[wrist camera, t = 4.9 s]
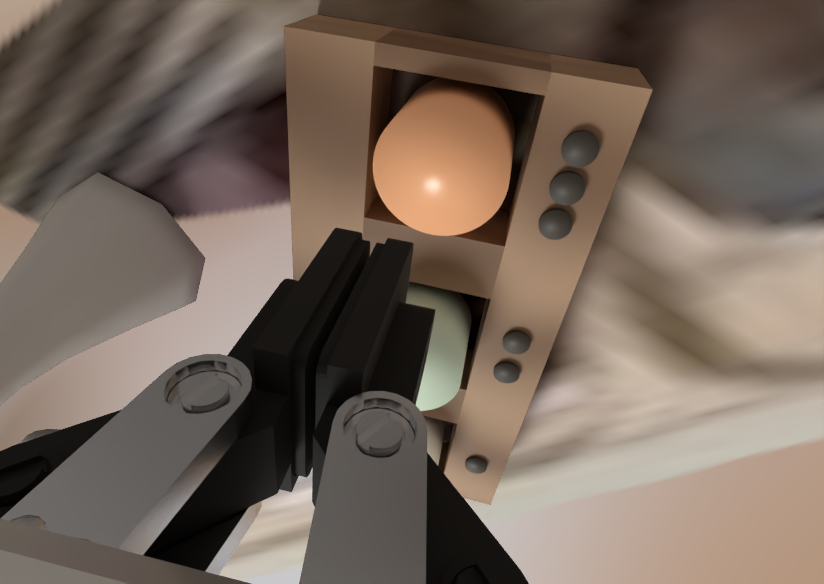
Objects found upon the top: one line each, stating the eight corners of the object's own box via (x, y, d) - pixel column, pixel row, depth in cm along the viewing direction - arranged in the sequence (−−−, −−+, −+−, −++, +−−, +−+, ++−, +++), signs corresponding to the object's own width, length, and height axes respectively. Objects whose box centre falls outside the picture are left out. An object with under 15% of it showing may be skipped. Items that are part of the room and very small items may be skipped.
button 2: (462, 362, 21) (451, 421, 19) (371, 341, 22) (348, 396, 19) (480, 288, 19) (470, 343, 16) (377, 266, 19) (353, 316, 17)
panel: (494, 462, 27) (489, 508, 25) (317, 418, 28) (298, 458, 26) (637, 68, 15) (654, 91, 13) (316, 14, 16) (280, 27, 14)
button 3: (500, 202, 18) (493, 247, 15) (392, 181, 18) (368, 221, 16) (528, 87, 15) (526, 118, 13) (403, 65, 16) (377, 90, 13)
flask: (90, 139, 20) (-198, 273, 12) (234, 257, 22) (66, 436, 14) (42, 239, 24) (-200, 389, 16) (168, 331, 26) (8, 504, 18)
